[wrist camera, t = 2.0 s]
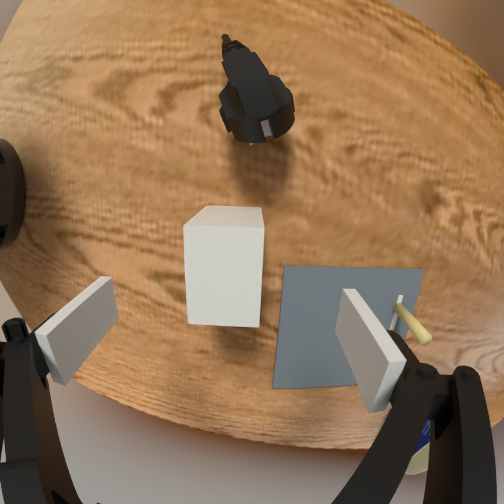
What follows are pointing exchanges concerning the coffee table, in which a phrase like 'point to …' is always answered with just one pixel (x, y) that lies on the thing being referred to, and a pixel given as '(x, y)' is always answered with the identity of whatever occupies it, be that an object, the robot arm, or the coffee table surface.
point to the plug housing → (224, 266)
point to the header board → (325, 318)
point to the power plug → (253, 97)
